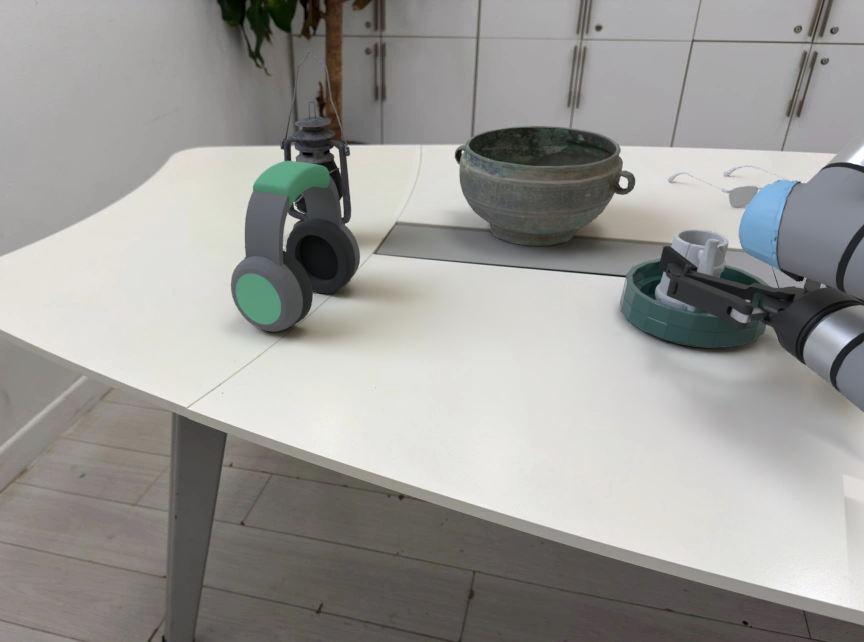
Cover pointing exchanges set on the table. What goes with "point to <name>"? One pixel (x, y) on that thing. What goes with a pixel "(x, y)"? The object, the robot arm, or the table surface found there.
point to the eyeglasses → (735, 189)
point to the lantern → (318, 153)
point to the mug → (695, 260)
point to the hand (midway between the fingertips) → (716, 252)
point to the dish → (683, 311)
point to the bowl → (540, 180)
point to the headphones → (292, 247)
